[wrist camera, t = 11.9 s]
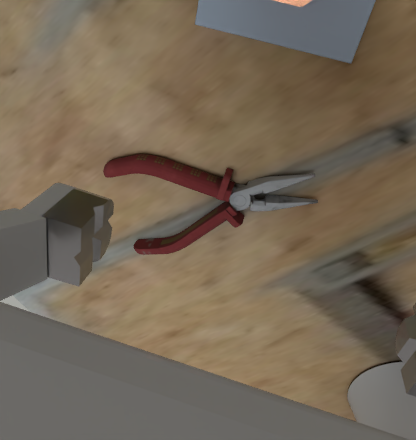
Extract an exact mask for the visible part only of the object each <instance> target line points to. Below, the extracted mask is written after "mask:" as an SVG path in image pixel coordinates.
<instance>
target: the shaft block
mask: <svg viewBox="0 0 416 440" xmlns="http://www.w3.org/2000/svg"><path fill="white" fill-rule="evenodd" d="M375 1H376V0H312V1H310V2H309V3H307V4H306V5H304V6H303V7H302V6H301V7H298V6H294V5H290V4H286V3H282V2H278V1H274V0H199V2H198V9H197V15H196V21H195V24H196V25H200V26H204V27H208V28H212V29H215V30H219V31H223V32H227V33H231V34H235V35H239V36H243V37H247V38H251V39H255V40H259V41H263V42H267V43H271V44H275V45H279V46H283V47H287V48H291V49H295V50H299V51H303V52H307V53H311V54H315V55H319V56H323V57H327V58H331V59H335V60H339V61H343V62H347V63H352V60H353V57H354V55H355V52H356V50H357V47H358V44H359V42H360V39H361V37H362V34H363V32H364V29H365V26H366V24H367V21H368V19H369V16H370V14H371V11H372V8H373V6H374V3H375Z"/></svg>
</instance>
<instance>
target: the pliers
mask: <svg viewBox="0 0 416 440" xmlns="http://www.w3.org/2000/svg"><path fill="white" fill-rule="evenodd" d="M103 172H104V175H105V177H116V176H121V175H127V174H134V173H139V174H147V175H152V176H156V177H159V178H162V179H164V180H167V181H170V182H173V183H176V184H178V185H181V186H184V187H187V188H190V189H193V190H195V191H198V192H201V193H204V194H207V195H210V196H212V197H215V198H216V199H219V200H222V201H223V200H224V201H225V202H224V203H223V204H221V205H220V206H218V207H217V208H215V209H214V210H212V211H211V212H210V213H208V214H207V215H205V216H204V217H202V218H201V219H200V220H198V221H197V222H195V223H194V224H192V225H191V226H190V227H188V228H187V229H185V230H184V231H182V232H180V233H178V234H176V235H174V236H171V237H166V238H153V239H138V240H137V241H136V242H135V244H134V249H135V251H136V252H137V253H139V254H143V255H146V254H169V253H173V252H176V251H179V250H181V249H183V248H185V247H187V246H188V245H190V244H191V243H193V242H194V241H196V240H197V239H199V238H200V237H202V236H203V235H205V234H206V233H208V232H209V231H211V230H212V229H214V228H215V227H217V226H218V225H220V224H221V223H223V222H224V221H226V220H227V221H228V222H229V223H230V224H231V225H232V226H234V227H238V226H240V225H241V224H242V223H243V219H244V215H243V214H242V213H241V212H240V210H243V209H246V208H247V207H249V206H250V211H271V210H277V209H283V208H289V207H295V206H301V205H307V204H313V203H318V200H314V199H306V198H298V197H289V196H279V195H266V197H265V198H264V199H262V200H258V199H256V198H255V197H254V196H253V195H256V194H260V193H263V192H264V194H265V193H269V192H272V191H275V190H278V189H281V188H284V187H287V186H290V185H292V184H295V183H298V182H301V181H304V180H306V179H309V178H312V177H315V174H302V175H287V176H271V177H263V178H259V179H255V180H252V181H249V182H248V184H247V185H244V184H235V182H233V181H230V178H231V175H232V172H233V170H232V169H229V168H227V169H226V172H225V175H224V177H223V178H220V177H217V176H214V175H211V174H209V173H206V172H203V171H200V170H197V169H194V168H192V167H189V166H186V165H183V164H180V163H177V162H175V161H172V160H169V159H166V158H163V157H159V156H154V155H149V154H137V155H132V156H127V157H123V158H118V159H113V160H111V161H109V162H108V163H107V164H106V165H105V167H104V170H103Z"/></svg>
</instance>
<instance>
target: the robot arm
mask: <svg viewBox="0 0 416 440" xmlns="http://www.w3.org/2000/svg"><path fill="white" fill-rule="evenodd" d="M113 209H114V203H113V201H112V199H109V198H106V197H103V196H100V195H97V194H94V193H91V192H88V191H85V190H82V189H79V188H75V187H72V186H69V185H66V184H62V183H55V184H54V185H52V186H51V187H50V188H49V189H47V190H46V191H45V192H43V193H42V194H41V195H39V196H38V197H37V198H35V199H34V200H33V201H31V202H30V203H29V204H27V205H26V206H25V207H24V208H22V209H21V210H19V209H16V208H13V209H8V210H4V211H0V301H1V300H3V299H5V298H7V297H9V296H12V295H14V294H16V293H18V292H20V291H22V290H24V289H27V288H29V287H31V286H33V285H35V284H37V283H39V282H42V281H44V280H46V279H47V277H49V278H52V279H56V280H59V281H62V282H66V283H69V284H73V285H76V286H80V285H81V284H82V282H83V281H84V280H85V278H86V277H87V276H88V275H89V273H90V272H91V271H92V263H93V262H95V261H98V260H100V259H101V258H102V256H103V255H104V254H105V252H106V249H107V247H108V245H109V242H110V238H111V233H112V227H111V225H110V223H109V221H108V220H109V218H110V217H111V216H112V215H113ZM413 309H414V314H415V315H413V316H411V317H408V318H406V319H404V320H403V322H402V323H401V325H400V326H399V328H398V331H397V335H396V338H395V348H396V352H397V356H398V357H399V358H400V359H401V360H402V361H403V362H396V363H389V364H385V365H381V366H378V367H375V368H372V369H370V370H368V371H366V372H364V373H363V374H361V375H360V376H358V377H357V378H356V379H355V380H354V381H353V382H352V384H351V385H350V387H349V390H348V402H349V405H350V407H351V409H352V411H353V413H354V416H355V419H356V421H357V422H356V421H353V420H350V419H347V418H344V417H341V416H338V415H335V414H332V413H329V412H326V411H323V410H320V409H317V408H314V407H311V406H308V405H305V404H302V403H299V402H296V401H293V400H290V399H287V398H284V397H281V396H278V395H275V394H272V393H270V392H267V391H264V390H261V389H258V388H255V387H252V386H249V385H246V384H243V383H240V382H237V381H234V380H231V379H228V378H225V377H222V376H219V375H216V374H213V373H210V372H207V371H204V370H201V369H198V368H195V367H192V366H189V365H186V364H183V363H180V362H177V361H174V360H171V359H168V358H165V357H162V356H160V355H157V354H154V353H151V352H148V351H145V350H142V349H139V348H136V347H133V346H130V345H127V344H124V343H121V342H118V341H115V340H112V339H109V338H106V337H103V336H100V335H97V334H94V333H91V332H88V331H85V330H82V329H79V328H76V327H73V326H70V325H67V324H64V323H61V322H58V321H55V320H52V319H49V318H46V317H43V316H40V315H37V314H34V313H31V312H29V311H26V310H23V309H20V308H17V307H14V306H11V305H8V304H5V303H2V302H0V440H416V303H415V305H414V306H413Z"/></svg>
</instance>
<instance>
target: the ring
mask: <svg viewBox="0 0 416 440" xmlns="http://www.w3.org/2000/svg"><path fill="white" fill-rule="evenodd" d="M274 1H278V2H282V3H286V4H290V5H294V6H298V7H301V6H302V7H303V6H304V5H306V4H307V3H309V2H310V1H312V0H274Z"/></svg>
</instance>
